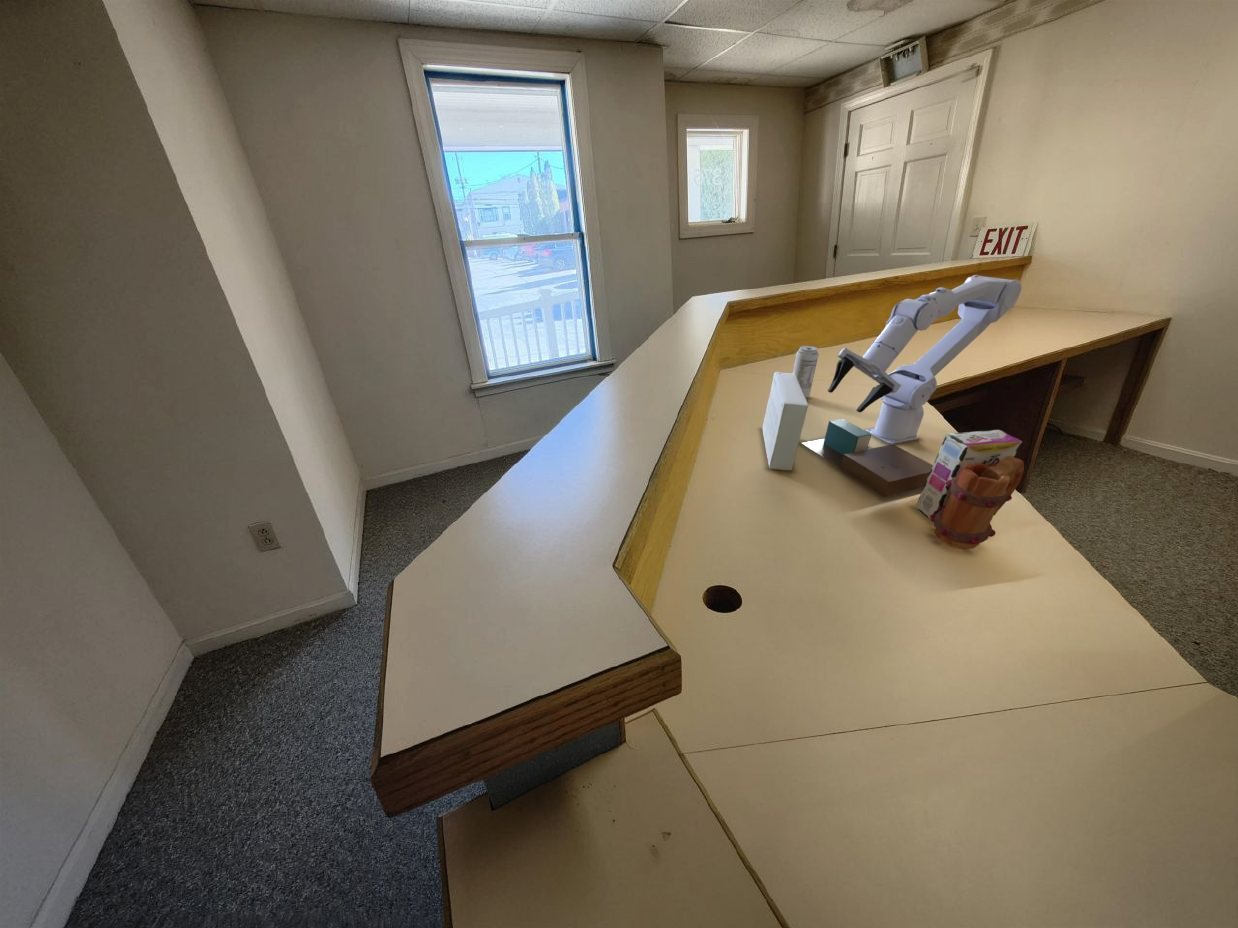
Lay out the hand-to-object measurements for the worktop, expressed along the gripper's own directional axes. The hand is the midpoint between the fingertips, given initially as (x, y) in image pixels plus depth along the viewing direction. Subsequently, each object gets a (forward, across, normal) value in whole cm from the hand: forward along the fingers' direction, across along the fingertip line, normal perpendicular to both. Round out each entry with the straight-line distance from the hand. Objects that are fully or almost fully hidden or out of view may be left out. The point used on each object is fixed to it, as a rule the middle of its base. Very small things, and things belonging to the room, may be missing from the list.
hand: (844, 401), depth 101 cm
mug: (+12, +26, -21) cm, 36 cm away
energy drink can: (-2, -3, +38) cm, 38 cm away
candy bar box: (+9, +25, -14) cm, 31 cm away
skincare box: (+17, -4, +5) cm, 18 cm away
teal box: (+8, +8, +6) cm, 13 cm away
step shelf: (+9, +12, +1) cm, 15 cm away
